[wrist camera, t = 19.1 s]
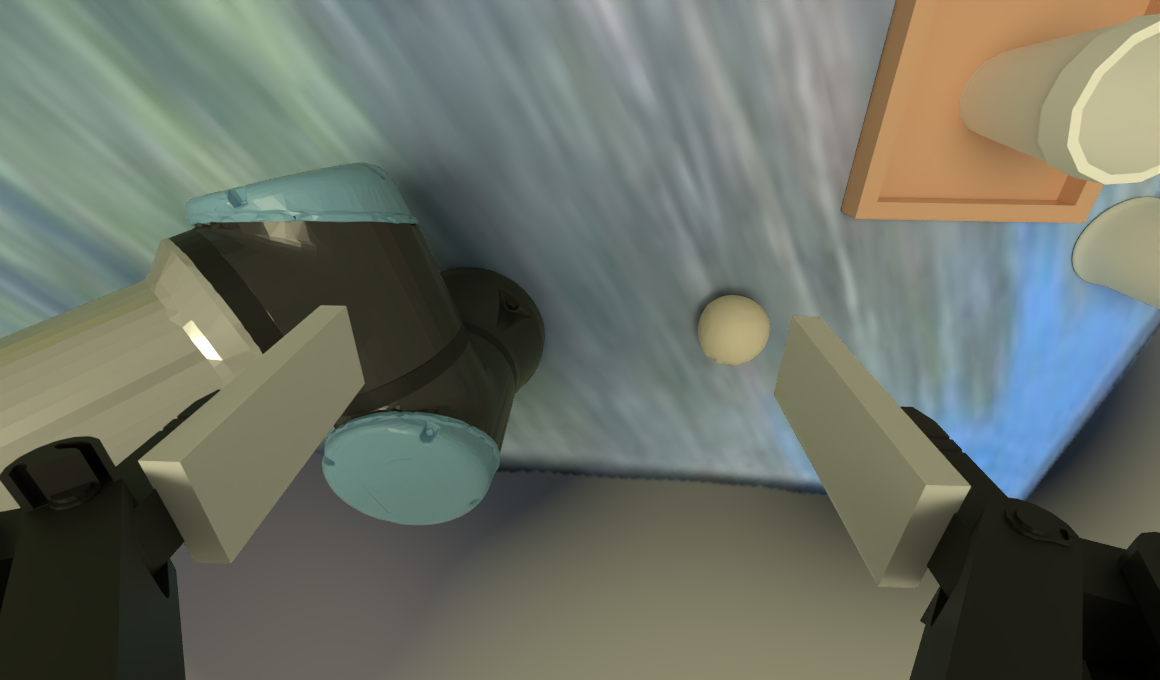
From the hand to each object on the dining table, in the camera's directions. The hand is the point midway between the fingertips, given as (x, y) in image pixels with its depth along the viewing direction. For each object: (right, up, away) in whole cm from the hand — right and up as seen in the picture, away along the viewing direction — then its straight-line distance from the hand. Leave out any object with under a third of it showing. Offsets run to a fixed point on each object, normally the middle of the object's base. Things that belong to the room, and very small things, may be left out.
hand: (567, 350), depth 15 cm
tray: (+35, +21, +27) cm, 49 cm away
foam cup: (+35, +21, +26) cm, 48 cm away
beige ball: (+16, +3, +38) cm, 41 cm away
